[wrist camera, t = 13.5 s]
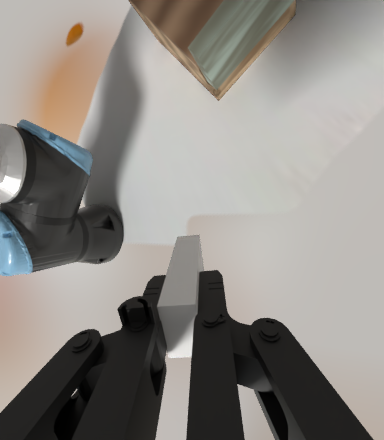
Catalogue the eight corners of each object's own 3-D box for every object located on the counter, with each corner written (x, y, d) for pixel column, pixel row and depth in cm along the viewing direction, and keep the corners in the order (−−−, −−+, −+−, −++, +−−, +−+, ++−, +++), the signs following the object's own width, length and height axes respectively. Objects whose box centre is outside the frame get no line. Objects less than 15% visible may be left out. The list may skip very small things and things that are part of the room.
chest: (295, 14, 37) (298, -52, 28) (218, 100, 43) (200, 69, 33) (215, -44, 42) (196, -116, 33) (157, 39, 48) (126, -2, 39)
